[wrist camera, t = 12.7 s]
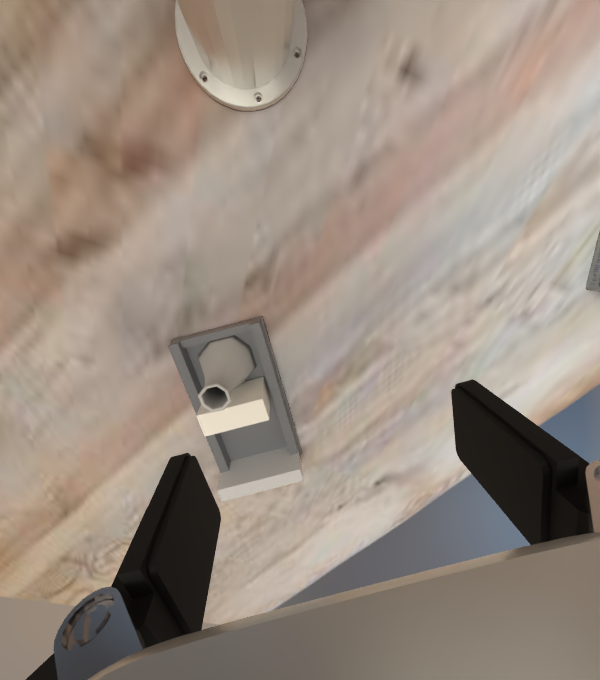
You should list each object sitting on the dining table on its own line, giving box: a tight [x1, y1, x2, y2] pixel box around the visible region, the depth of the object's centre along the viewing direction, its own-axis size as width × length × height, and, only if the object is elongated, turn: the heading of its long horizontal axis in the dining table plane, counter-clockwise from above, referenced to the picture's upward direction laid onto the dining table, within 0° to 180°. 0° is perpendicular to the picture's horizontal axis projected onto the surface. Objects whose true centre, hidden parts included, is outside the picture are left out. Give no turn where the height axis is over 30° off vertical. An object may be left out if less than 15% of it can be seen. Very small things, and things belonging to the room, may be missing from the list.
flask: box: [198, 335, 256, 413], centre depth 36 cm, size 7×7×10 cm
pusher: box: [196, 377, 270, 436], centre depth 40 cm, size 3×8×6 cm, turn 104°
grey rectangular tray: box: [168, 317, 304, 501], centre depth 41 cm, size 22×12×6 cm, turn 14°
